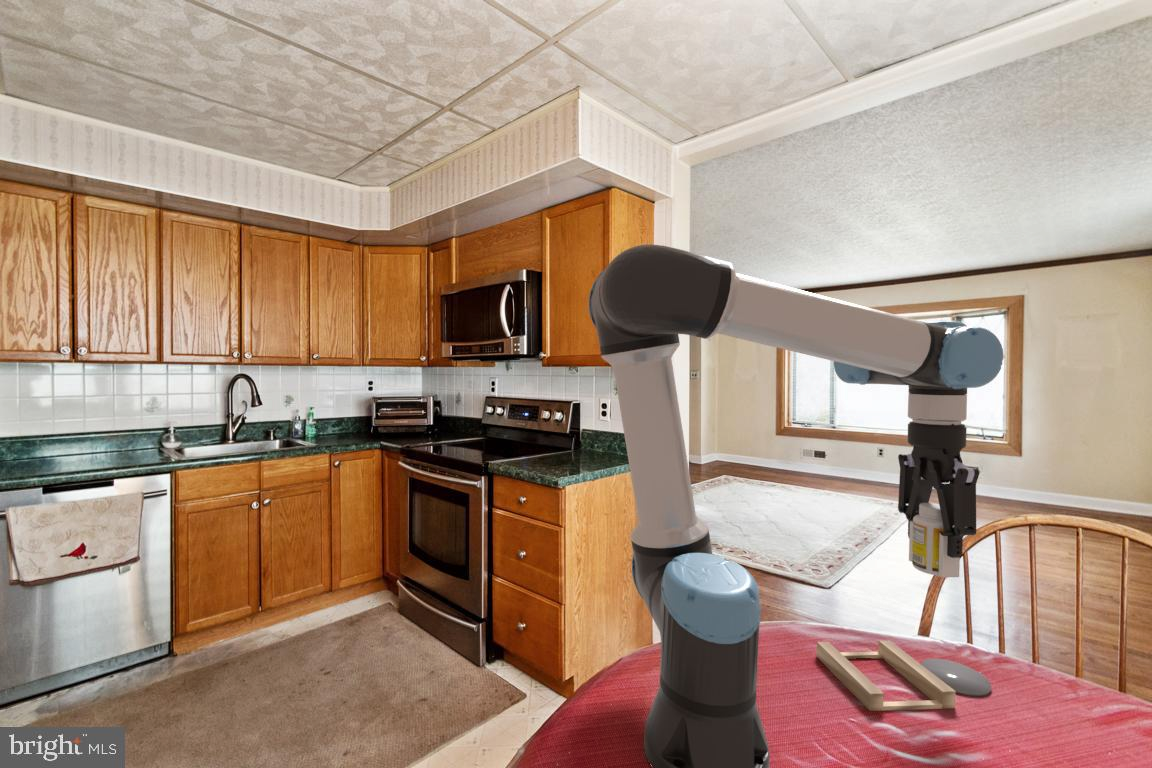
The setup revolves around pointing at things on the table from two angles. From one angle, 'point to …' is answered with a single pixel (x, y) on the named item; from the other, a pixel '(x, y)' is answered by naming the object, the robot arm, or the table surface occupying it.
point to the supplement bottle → (927, 538)
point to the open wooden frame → (899, 661)
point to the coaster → (959, 677)
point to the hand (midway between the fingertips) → (933, 568)
